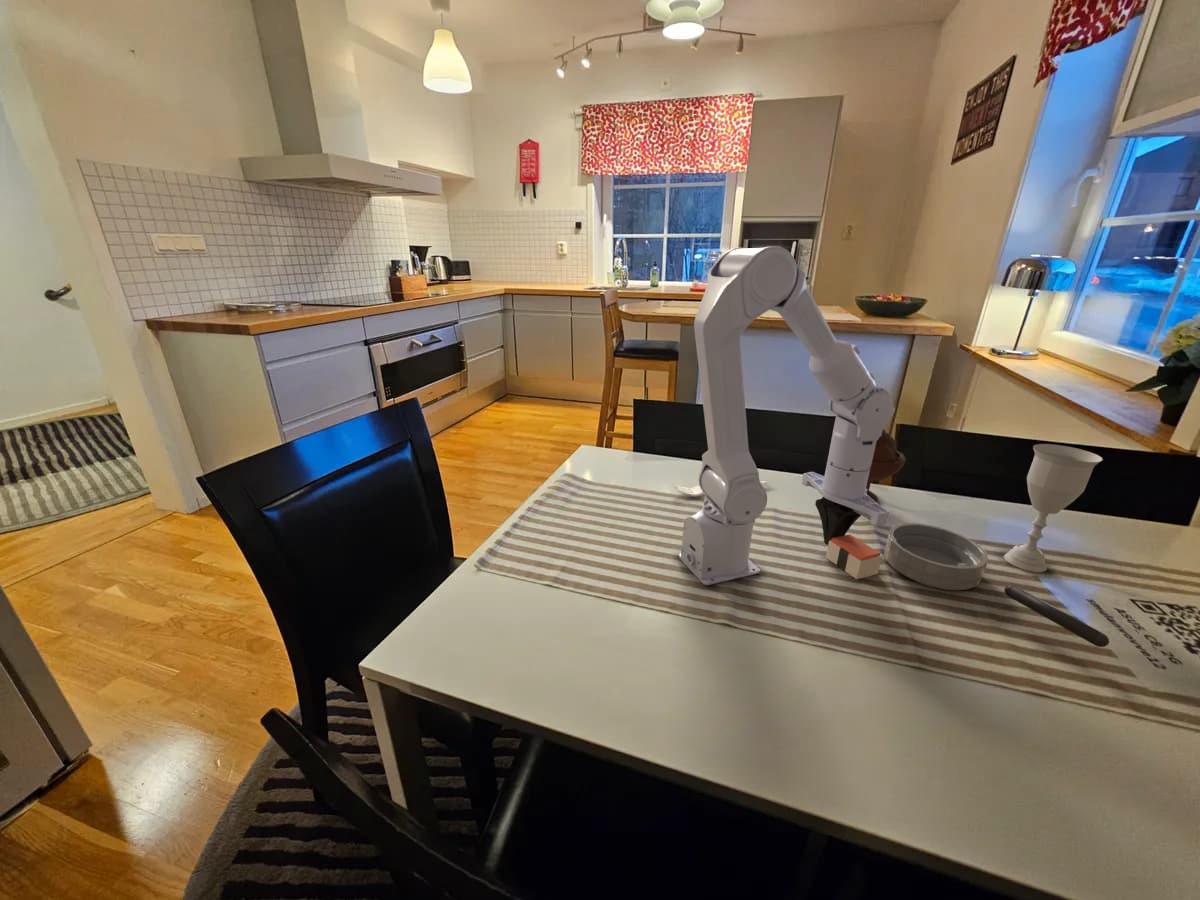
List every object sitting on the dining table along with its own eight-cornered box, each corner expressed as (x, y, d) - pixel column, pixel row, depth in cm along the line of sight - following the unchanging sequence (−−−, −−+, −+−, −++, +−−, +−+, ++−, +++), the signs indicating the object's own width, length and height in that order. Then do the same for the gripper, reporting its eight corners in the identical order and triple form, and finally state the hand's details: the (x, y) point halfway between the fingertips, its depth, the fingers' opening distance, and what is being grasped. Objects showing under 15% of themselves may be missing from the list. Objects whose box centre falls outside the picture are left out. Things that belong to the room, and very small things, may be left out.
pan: (938, 600, 66) (946, 575, 65) (865, 553, 77) (870, 530, 75) (1000, 582, 70) (1008, 558, 69) (921, 539, 81) (927, 517, 79)
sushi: (856, 580, 70) (861, 559, 69) (825, 557, 75) (829, 537, 74) (878, 574, 72) (883, 553, 70) (845, 552, 77) (850, 533, 76)
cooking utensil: (770, 488, 98) (771, 480, 97) (676, 498, 93) (676, 489, 93) (761, 482, 101) (762, 473, 100) (670, 491, 96) (670, 482, 96)
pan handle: (1100, 651, 54) (1106, 640, 54) (999, 594, 64) (1003, 584, 63) (1109, 648, 55) (1114, 636, 54) (1008, 591, 64) (1011, 581, 64)
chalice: (999, 567, 73) (1039, 455, 67) (991, 545, 79) (1027, 440, 73) (1062, 581, 70) (1111, 466, 64) (1049, 557, 76) (1092, 449, 69)
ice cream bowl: (890, 517, 88) (909, 438, 82) (824, 499, 94) (838, 425, 88) (899, 496, 95) (917, 422, 90) (837, 481, 102) (851, 412, 96)
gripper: (913, 479, 67) (891, 564, 72) (832, 444, 79) (818, 518, 84) (874, 487, 64) (854, 573, 69) (797, 449, 77) (784, 524, 82)
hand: (832, 543), depth 77 cm, fingers closed
